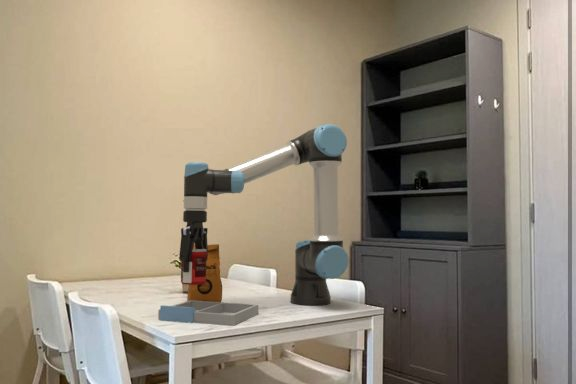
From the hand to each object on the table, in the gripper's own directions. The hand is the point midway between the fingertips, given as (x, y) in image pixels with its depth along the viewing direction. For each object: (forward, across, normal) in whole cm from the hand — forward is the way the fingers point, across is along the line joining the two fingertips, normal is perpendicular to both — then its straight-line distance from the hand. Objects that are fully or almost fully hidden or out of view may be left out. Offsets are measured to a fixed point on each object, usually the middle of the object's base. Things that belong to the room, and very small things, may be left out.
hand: (193, 281), depth 167 cm
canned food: (+1, 0, 0) cm, 1 cm away
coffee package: (+11, -18, -5) cm, 22 cm away
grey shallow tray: (+11, 0, +6) cm, 12 cm away
